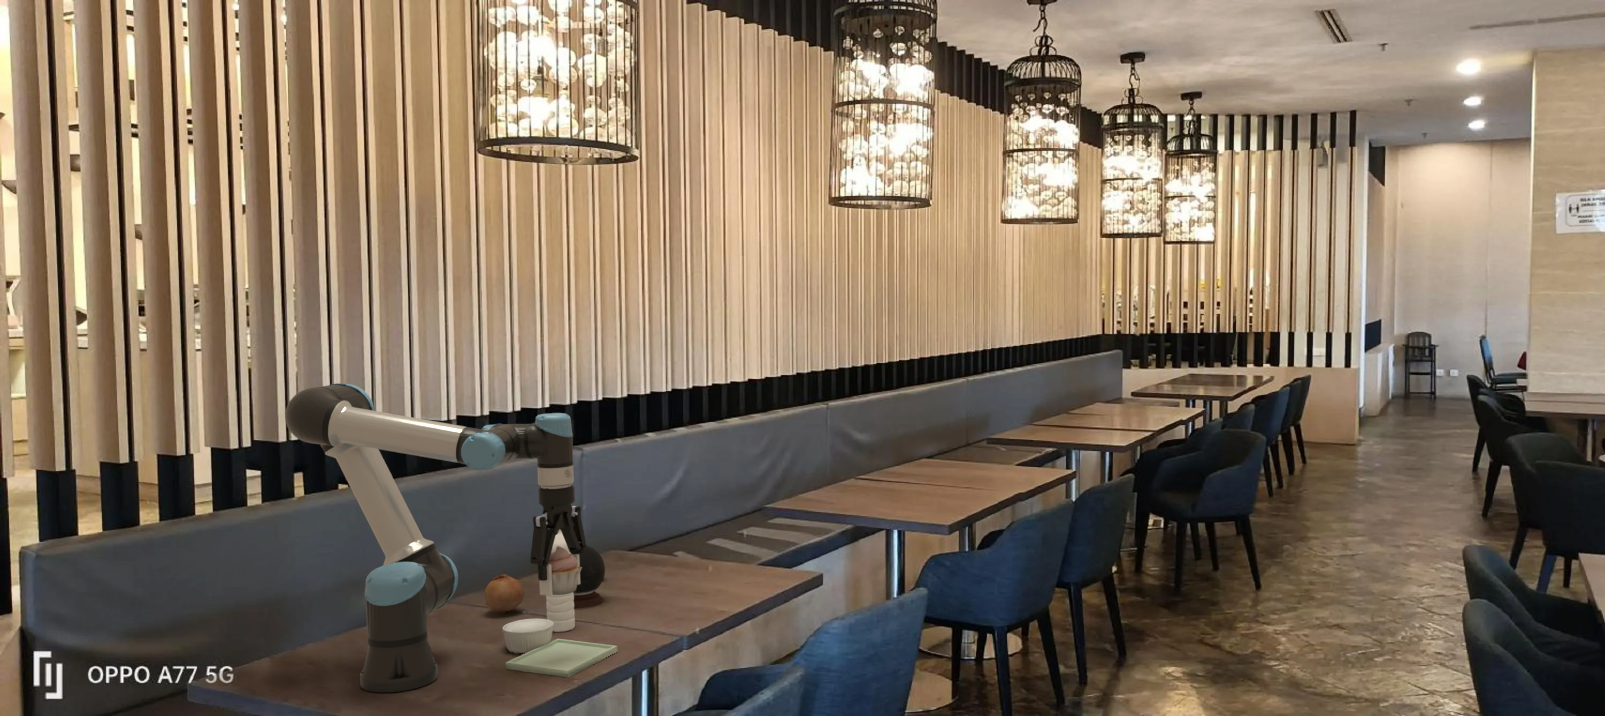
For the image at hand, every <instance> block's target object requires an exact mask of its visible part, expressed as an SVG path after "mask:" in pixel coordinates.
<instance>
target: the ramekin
mask: <svg viewBox="0 0 1605 716" xmlns="http://www.w3.org/2000/svg"><path fill="white" fill-rule="evenodd" d="M553 628H554V623H553V622H552V621H550V620H547V619H546V618H526V619H525V618H524V619H518V620H514V621H512V622H508V623H506V624H504V625H503V626H502V629H501V631H502V633H503V636H504V641H505V646H506V648H507V650H508V651H509V652H510V653H512V652H513V653H514V654H519V653H523V654H524V653H527V652H530V651H532V650H534V649H536V648H538V647H541V646H543V645H545V644H547V643H549V642H552V638H553V632H552V631H553ZM513 653H512V654H513ZM523 654H522V655H523Z"/></svg>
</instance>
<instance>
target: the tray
mask: <svg viewBox="0 0 1605 716" xmlns="http://www.w3.org/2000/svg"><path fill="white" fill-rule="evenodd" d="M616 652H617V653H618V646H617V645H612V644H605V643H596V642H587V641H581V640H580V641H578V640H572V639H564V638H563V639H562V638H556V639H554V640H551V642H549V643H547V644H545V645H543V646H541V647H538V648H536V649H534V650H532V651H530V652H527V653H525V654H521V655H519V656H517V657H514V658H512V659H510V660H508V661H506V662H505V670H511V671H518V672H525V673H531V674H537V675H538V674H540V675H547V676H554V677H559V678H560V677H561V678H570V677H572V676H574V675H576V674H578V673H580V672H582V671H584V670H586V669H588V668H590V667H591V666H594V665H595V664H598V663H600V662H601V661H604V660H605V659H607V658H609V657H611V656H613V655H614V653H615V654H617V653H616ZM612 654H613V655H612ZM610 655H611V656H610ZM608 656H609V657H608ZM606 657H607V658H606ZM593 664H594V665H593Z"/></svg>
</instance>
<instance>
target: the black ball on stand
mask: <svg viewBox="0 0 1605 716" xmlns="http://www.w3.org/2000/svg"><path fill="white" fill-rule="evenodd" d="M580 567H582V569H581V571H580V584H579V585H577V588H576V590H575V591H574V592H573V594H574V600H573V601H574V610H575V609H577V610H578V609H587V608H591V607H595V606H599V605H601V604H602V602H603V597H602V596H601V595H600V593H598V592H597V591H596V590H597V589H598V588H599V587H600V586H601V584H602V582H603V581H604V578H605V574H606V567H605V562H604V559H603V557H602V555H601V553H599V552H598V550H596V549H594V548H593V547H591V546H589V545H586V548H585V549H584V553H583V554H580Z"/></svg>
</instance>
